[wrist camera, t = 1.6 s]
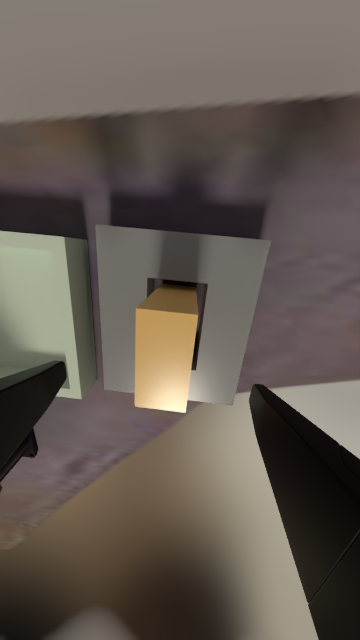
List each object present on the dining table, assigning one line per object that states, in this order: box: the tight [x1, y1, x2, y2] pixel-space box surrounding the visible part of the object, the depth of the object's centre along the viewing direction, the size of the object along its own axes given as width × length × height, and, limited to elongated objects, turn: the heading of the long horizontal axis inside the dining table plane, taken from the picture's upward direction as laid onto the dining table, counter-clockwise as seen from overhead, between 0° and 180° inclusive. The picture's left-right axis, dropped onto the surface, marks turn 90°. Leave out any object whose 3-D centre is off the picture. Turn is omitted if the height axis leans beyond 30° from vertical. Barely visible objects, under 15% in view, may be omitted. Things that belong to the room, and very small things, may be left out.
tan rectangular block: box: [135, 284, 198, 413], centre depth 14 cm, size 6×3×8 cm, turn 175°
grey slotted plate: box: [95, 224, 271, 405], centre depth 16 cm, size 14×12×2 cm
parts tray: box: [0, 231, 97, 399], centre depth 17 cm, size 14×14×3 cm
